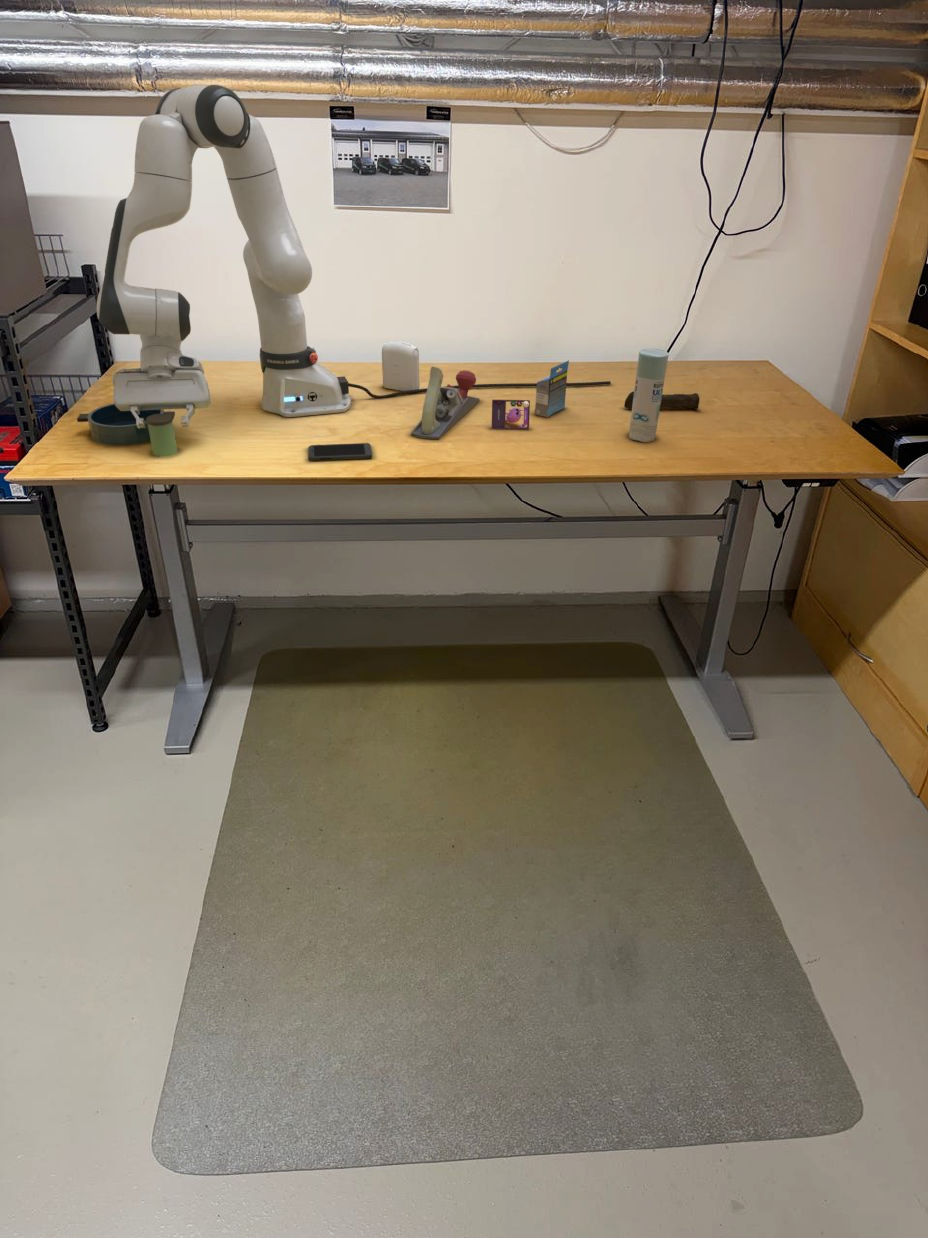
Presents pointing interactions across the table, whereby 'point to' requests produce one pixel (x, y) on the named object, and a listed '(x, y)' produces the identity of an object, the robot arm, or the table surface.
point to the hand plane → (444, 404)
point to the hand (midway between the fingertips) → (163, 426)
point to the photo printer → (400, 366)
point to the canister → (162, 434)
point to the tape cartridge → (552, 392)
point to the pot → (118, 426)
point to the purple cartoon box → (512, 416)
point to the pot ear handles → (84, 416)
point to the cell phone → (340, 451)
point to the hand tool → (671, 401)
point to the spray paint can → (647, 394)
